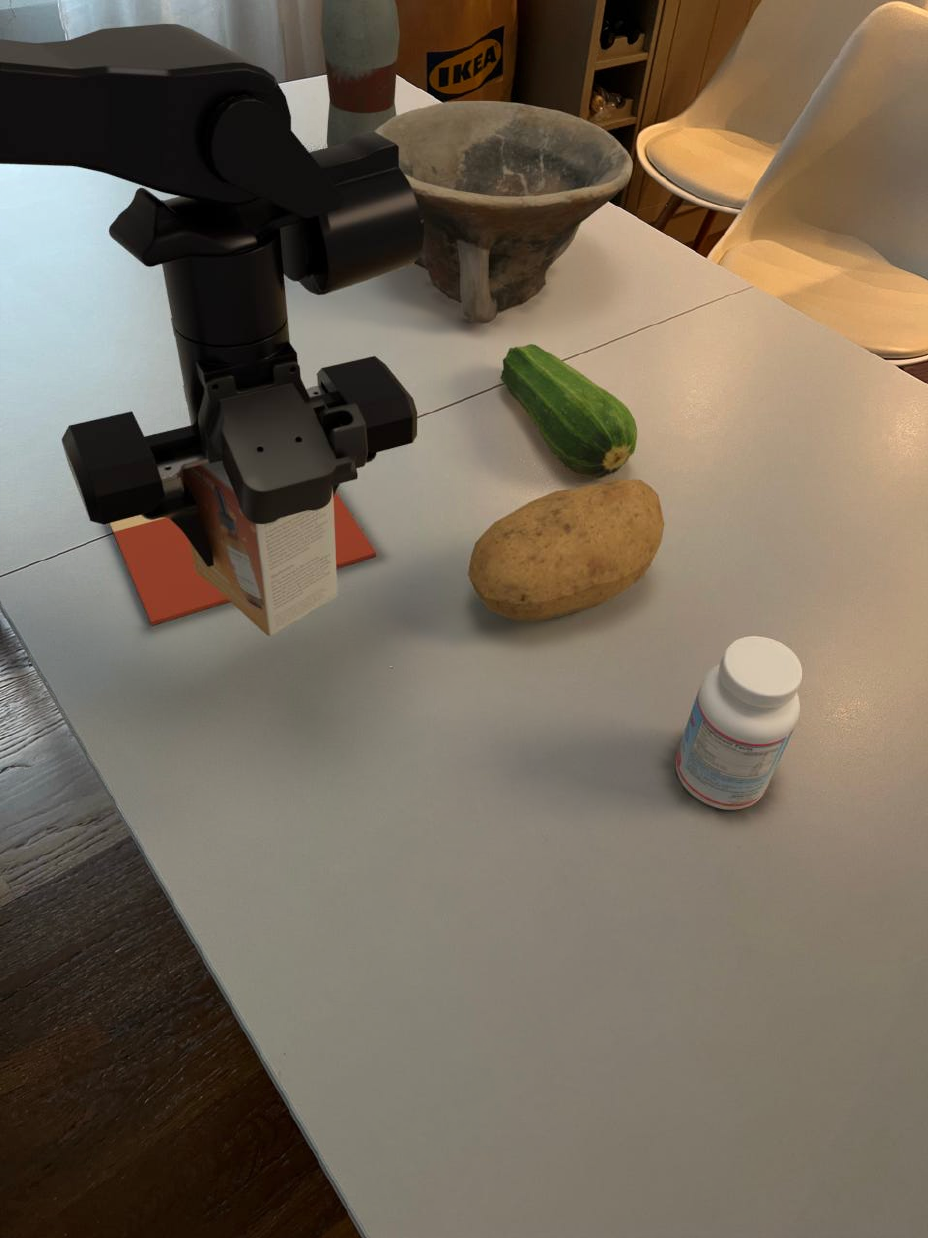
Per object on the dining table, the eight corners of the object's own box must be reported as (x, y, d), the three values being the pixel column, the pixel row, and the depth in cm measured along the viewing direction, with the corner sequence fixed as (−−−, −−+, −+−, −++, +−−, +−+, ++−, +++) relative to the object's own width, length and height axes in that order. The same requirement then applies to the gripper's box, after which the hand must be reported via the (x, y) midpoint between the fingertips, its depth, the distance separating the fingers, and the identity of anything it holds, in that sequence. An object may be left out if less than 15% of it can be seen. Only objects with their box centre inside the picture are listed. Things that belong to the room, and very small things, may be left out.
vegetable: (604, 413, 80) (502, 296, 93) (559, 486, 84) (466, 364, 96) (667, 432, 84) (561, 318, 97) (621, 500, 88) (525, 381, 101)
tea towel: (151, 625, 74) (150, 621, 73) (104, 512, 82) (103, 508, 82) (376, 556, 80) (376, 552, 79) (311, 457, 88) (311, 453, 88)
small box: (194, 572, 65) (167, 438, 57) (264, 534, 68) (248, 402, 60) (269, 641, 61) (251, 507, 53) (340, 597, 64) (333, 465, 56)
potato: (445, 583, 78) (449, 489, 71) (620, 537, 83) (639, 445, 76) (489, 661, 73) (498, 568, 66) (674, 608, 77) (700, 516, 70)
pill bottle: (707, 723, 70) (747, 610, 61) (783, 775, 67) (835, 664, 59) (655, 774, 66) (690, 662, 58) (733, 831, 64) (781, 722, 55)
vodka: (314, 169, 130) (296, -112, 108) (371, 154, 134) (365, -121, 112) (356, 195, 125) (347, -94, 103) (414, 178, 129) (417, -103, 108)
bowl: (550, 214, 124) (565, 83, 113) (654, 320, 107) (683, 179, 96) (341, 242, 116) (335, 105, 105) (418, 361, 100) (420, 213, 89)
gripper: (77, 450, 42) (144, 687, 54) (467, 358, 49) (454, 586, 60) (26, 324, 49) (95, 558, 60) (375, 257, 56) (379, 480, 67)
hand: (261, 547), depth 62 cm, fingers closed on small box, 6 cm apart
